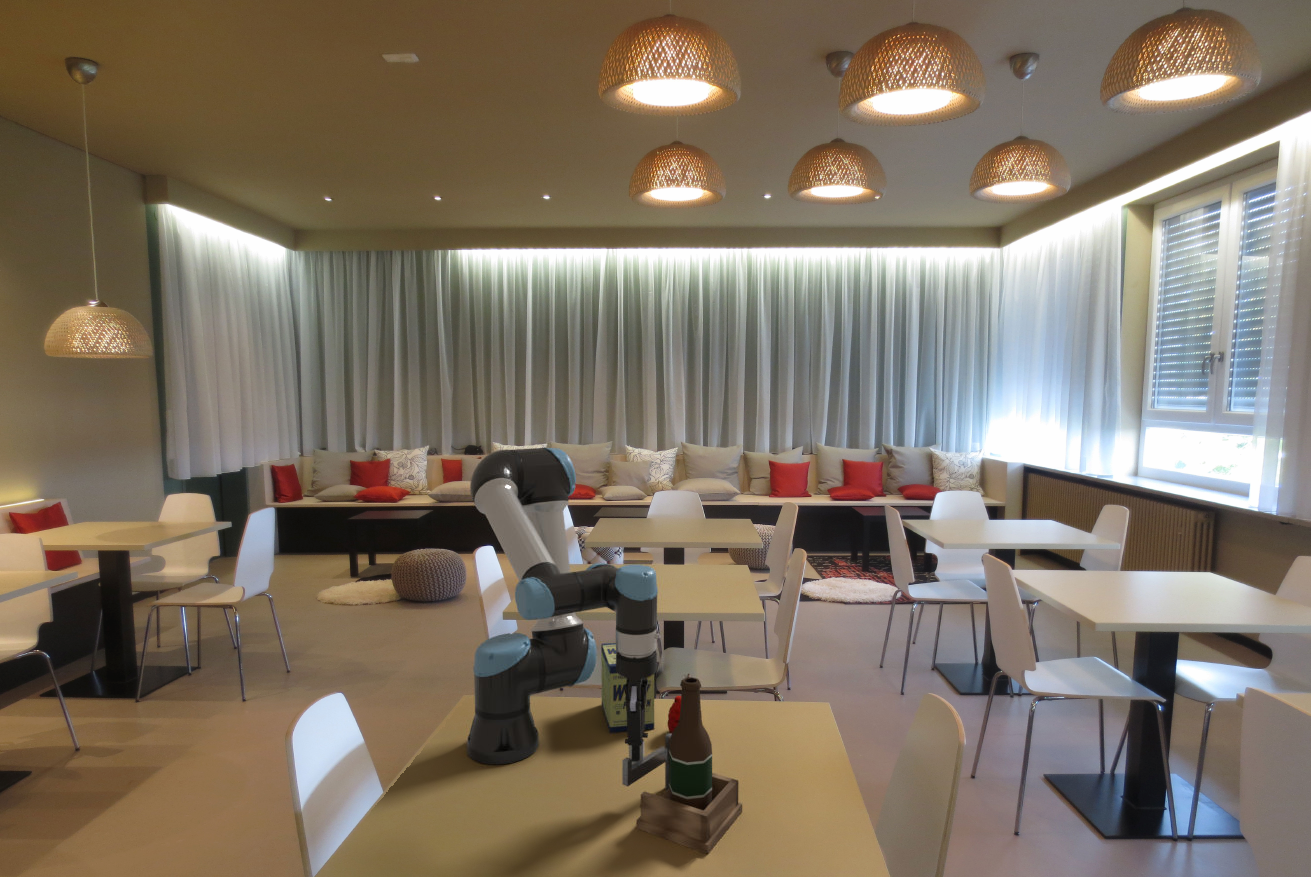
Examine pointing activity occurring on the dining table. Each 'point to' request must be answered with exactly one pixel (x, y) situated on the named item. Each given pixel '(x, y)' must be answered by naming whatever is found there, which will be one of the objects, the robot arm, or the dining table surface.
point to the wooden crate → (691, 813)
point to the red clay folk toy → (675, 713)
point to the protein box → (620, 693)
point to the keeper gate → (642, 766)
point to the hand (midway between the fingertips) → (636, 774)
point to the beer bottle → (690, 752)
